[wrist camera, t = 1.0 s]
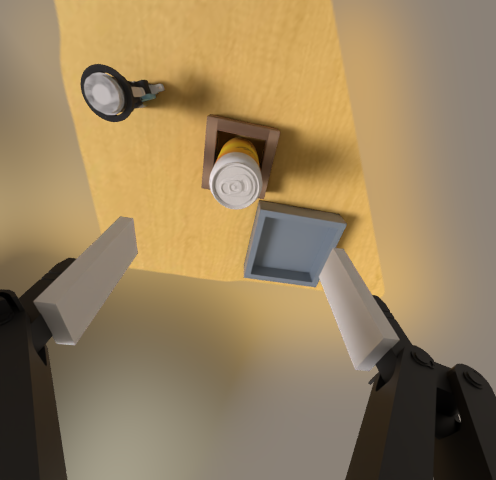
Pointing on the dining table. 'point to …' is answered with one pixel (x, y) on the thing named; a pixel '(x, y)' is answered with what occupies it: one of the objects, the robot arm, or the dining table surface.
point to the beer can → (236, 175)
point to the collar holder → (243, 129)
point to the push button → (114, 92)
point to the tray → (291, 243)
